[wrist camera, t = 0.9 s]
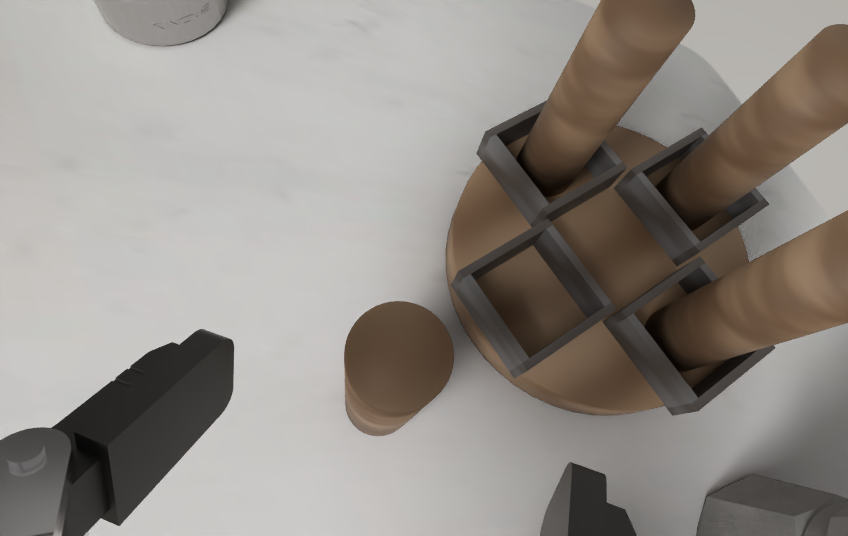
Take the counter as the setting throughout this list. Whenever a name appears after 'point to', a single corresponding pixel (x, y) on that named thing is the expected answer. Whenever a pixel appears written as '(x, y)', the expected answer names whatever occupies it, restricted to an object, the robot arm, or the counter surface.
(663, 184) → the stool seat
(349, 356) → the loose leg
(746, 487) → the coffeepot
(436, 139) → the counter surface
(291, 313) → the counter surface
